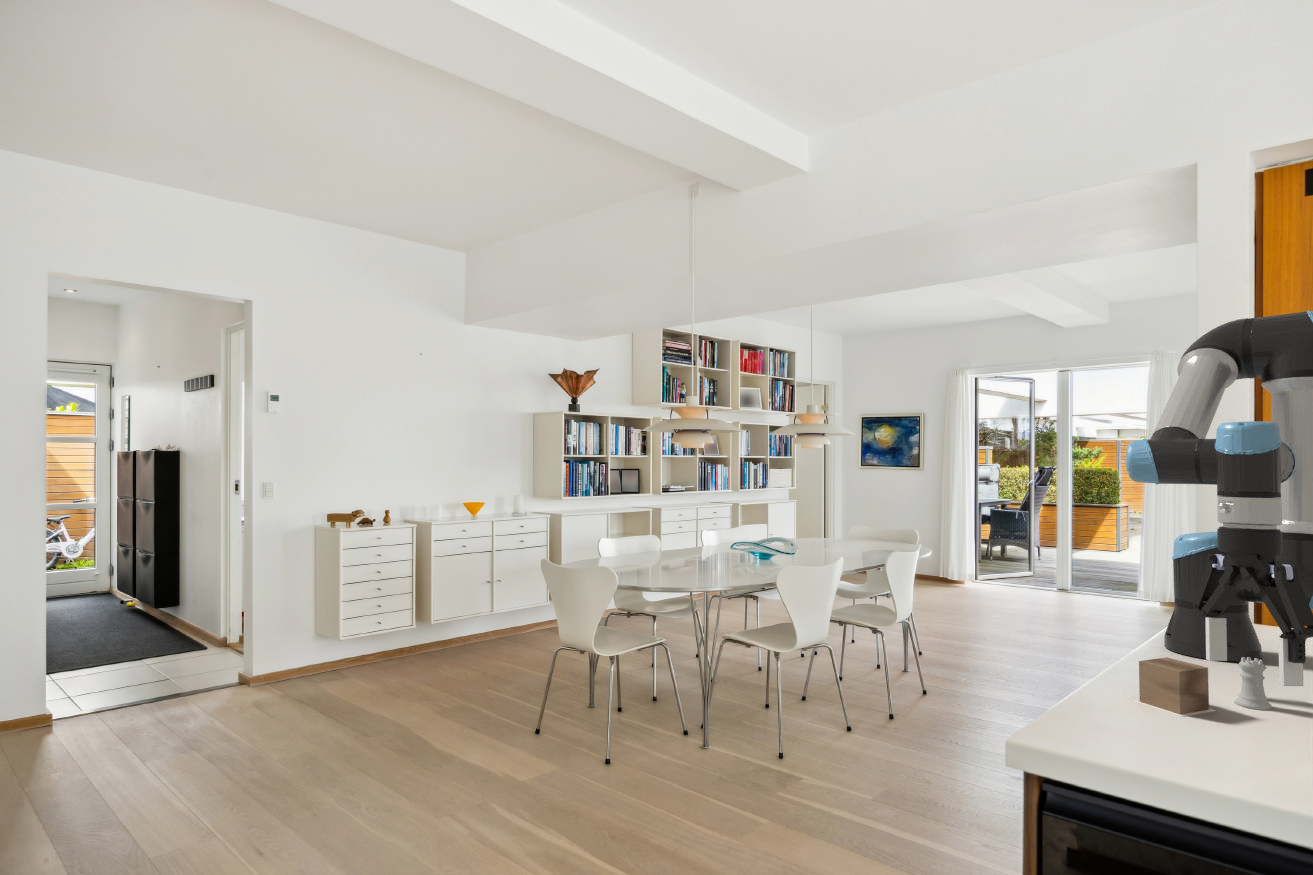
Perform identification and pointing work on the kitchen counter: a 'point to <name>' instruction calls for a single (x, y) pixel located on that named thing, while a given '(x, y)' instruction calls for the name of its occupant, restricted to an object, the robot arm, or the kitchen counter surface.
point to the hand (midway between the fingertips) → (1251, 672)
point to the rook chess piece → (1252, 685)
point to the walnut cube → (1174, 685)
